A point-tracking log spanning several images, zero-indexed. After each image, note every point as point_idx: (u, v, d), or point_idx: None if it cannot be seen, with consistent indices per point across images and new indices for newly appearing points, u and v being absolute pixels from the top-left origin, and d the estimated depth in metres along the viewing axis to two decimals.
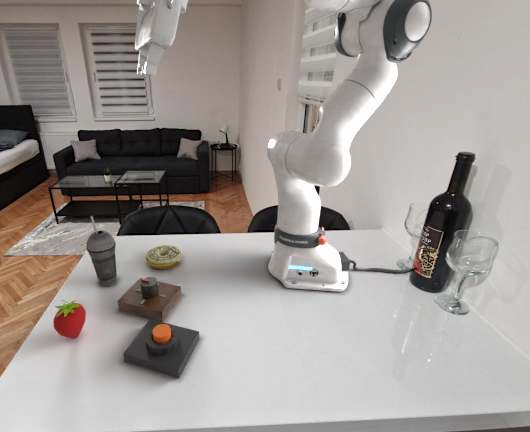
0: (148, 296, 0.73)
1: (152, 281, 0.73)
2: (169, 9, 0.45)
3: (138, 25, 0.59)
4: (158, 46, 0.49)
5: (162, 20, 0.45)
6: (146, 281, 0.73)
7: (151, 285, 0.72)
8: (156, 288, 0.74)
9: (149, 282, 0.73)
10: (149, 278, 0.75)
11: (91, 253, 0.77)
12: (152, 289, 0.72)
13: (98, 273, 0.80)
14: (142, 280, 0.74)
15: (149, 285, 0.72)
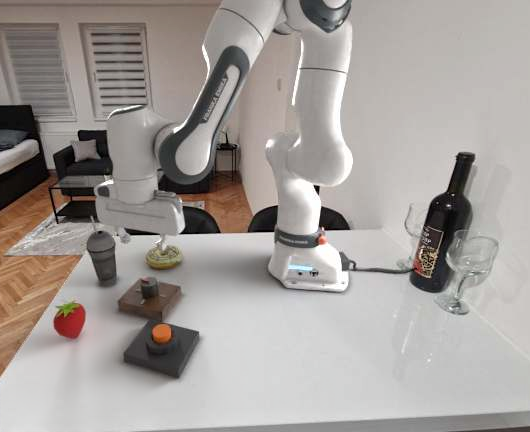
0: (148, 296, 0.73)
1: (152, 281, 0.73)
2: (180, 213, 0.63)
3: (101, 208, 0.66)
4: None
5: (180, 223, 0.63)
6: (146, 281, 0.73)
7: (151, 285, 0.72)
8: (156, 288, 0.74)
9: (149, 282, 0.73)
10: (149, 278, 0.75)
11: (91, 253, 0.77)
12: (152, 289, 0.72)
13: (98, 273, 0.80)
14: (142, 280, 0.74)
15: (149, 285, 0.72)
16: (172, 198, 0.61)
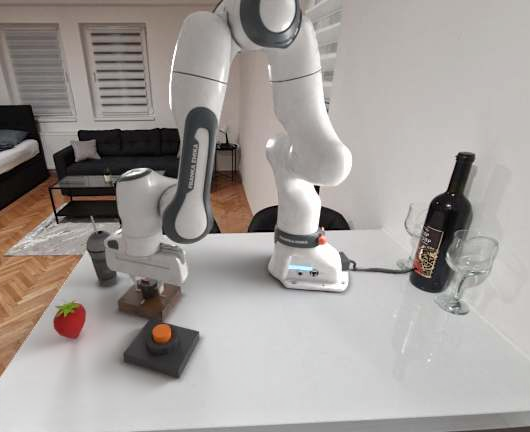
0: (148, 296, 0.73)
1: (152, 281, 0.73)
2: (183, 264, 0.68)
3: (110, 257, 0.72)
4: None
5: (183, 273, 0.68)
6: (146, 281, 0.73)
7: (151, 285, 0.72)
8: None
9: (149, 282, 0.73)
10: None
11: (91, 253, 0.77)
12: (152, 289, 0.72)
13: (98, 273, 0.80)
14: (142, 280, 0.74)
15: (149, 285, 0.72)
16: (176, 251, 0.67)
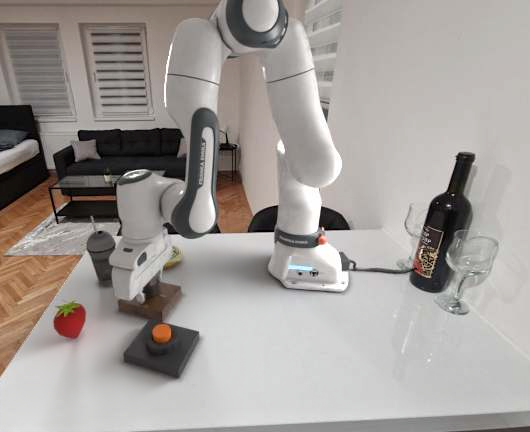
0: None
1: None
2: None
3: (133, 282, 0.63)
4: None
5: None
6: (148, 282, 0.73)
7: (155, 279, 0.74)
8: None
9: (150, 280, 0.74)
10: None
11: (91, 253, 0.77)
12: None
13: (98, 273, 0.80)
14: (146, 285, 0.72)
15: (155, 280, 0.74)
16: (163, 230, 0.77)
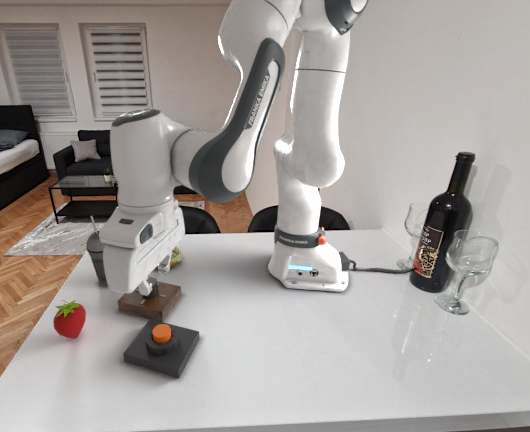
0: None
1: (149, 279, 0.74)
2: None
3: (133, 267, 0.45)
4: None
5: None
6: None
7: (155, 279, 0.74)
8: None
9: (150, 280, 0.74)
10: None
11: (91, 253, 0.77)
12: None
13: (98, 273, 0.80)
14: None
15: (155, 280, 0.74)
16: (173, 202, 0.58)
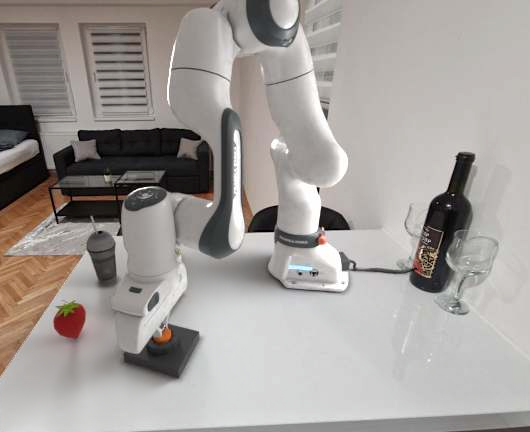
0: None
1: None
2: None
3: (141, 331, 0.50)
4: None
5: None
6: None
7: None
8: None
9: None
10: None
11: (91, 253, 0.77)
12: None
13: (98, 273, 0.80)
14: None
15: None
16: (177, 258, 0.63)
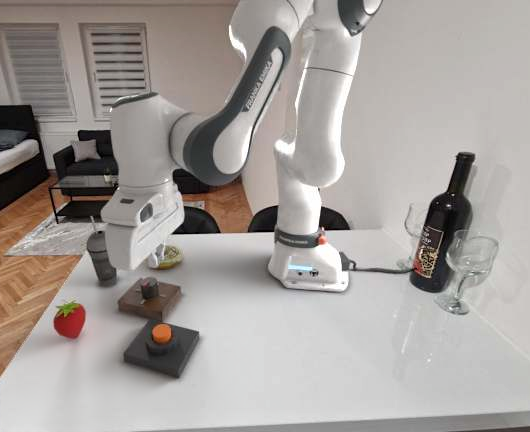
0: None
1: (149, 279, 0.74)
2: None
3: (134, 245, 0.46)
4: None
5: None
6: (148, 282, 0.73)
7: (155, 279, 0.74)
8: None
9: (150, 280, 0.74)
10: (143, 281, 0.73)
11: (91, 253, 0.77)
12: None
13: (98, 273, 0.80)
14: (146, 285, 0.72)
15: (155, 280, 0.74)
16: (173, 186, 0.59)
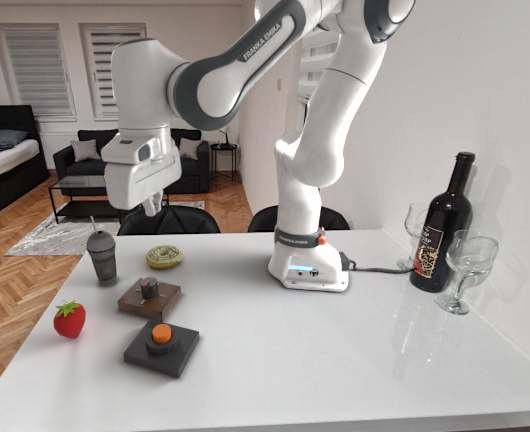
0: None
1: (149, 279, 0.74)
2: None
3: (132, 184, 0.49)
4: None
5: None
6: (148, 282, 0.73)
7: (155, 279, 0.74)
8: None
9: (150, 280, 0.74)
10: (143, 281, 0.73)
11: (91, 253, 0.77)
12: None
13: (98, 273, 0.80)
14: (146, 285, 0.72)
15: (155, 280, 0.74)
16: (170, 141, 0.62)
